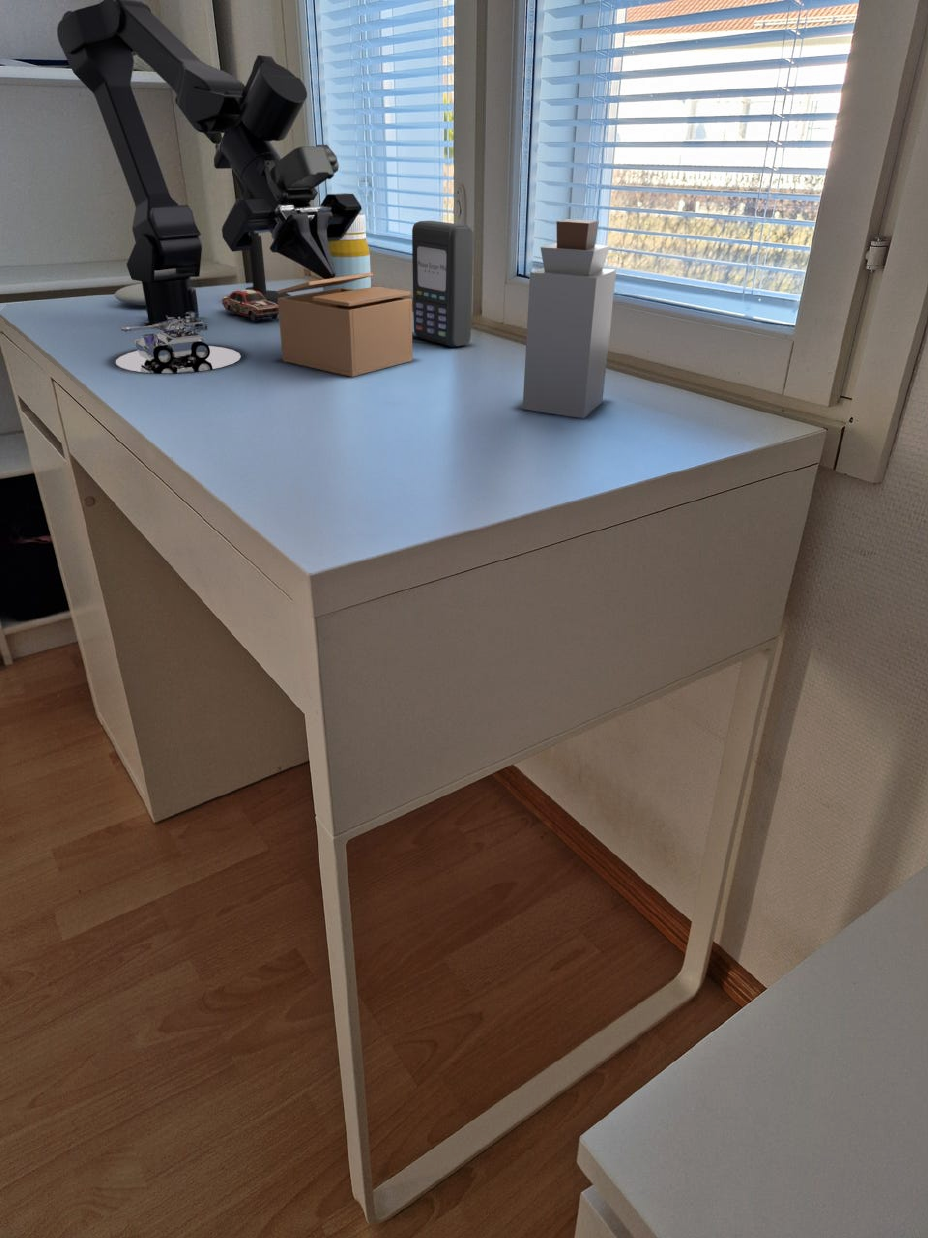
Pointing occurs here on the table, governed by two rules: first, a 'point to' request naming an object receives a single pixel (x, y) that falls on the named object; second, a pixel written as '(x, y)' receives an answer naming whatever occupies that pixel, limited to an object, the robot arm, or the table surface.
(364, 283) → the bottle
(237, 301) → the race car
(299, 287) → the lid flap
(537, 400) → the perfume bottle
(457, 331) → the card reader
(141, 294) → the cushion
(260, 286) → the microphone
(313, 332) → the carton
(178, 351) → the toy car
